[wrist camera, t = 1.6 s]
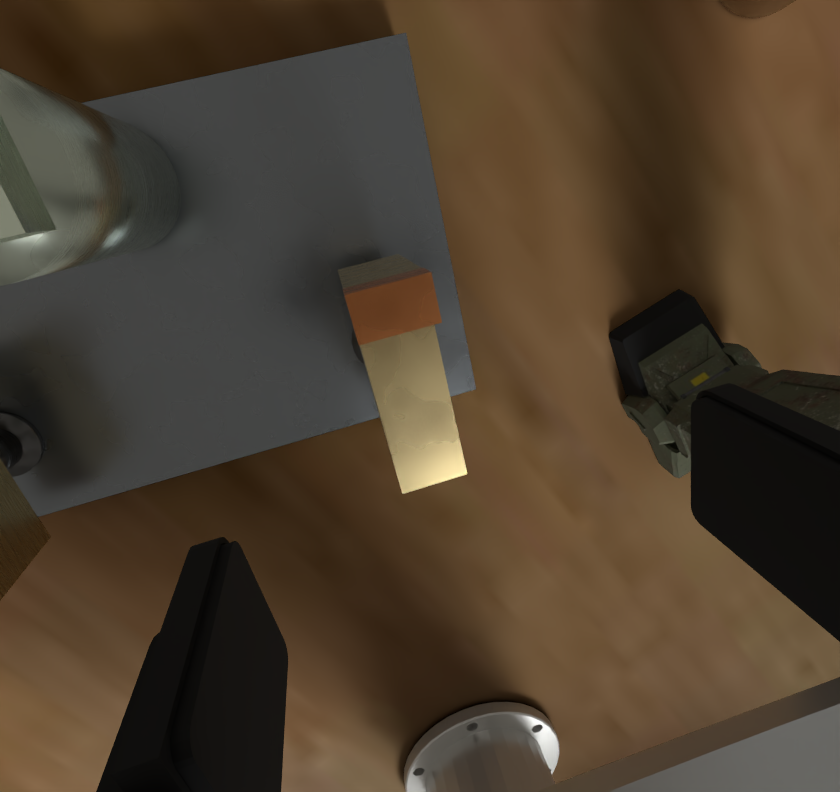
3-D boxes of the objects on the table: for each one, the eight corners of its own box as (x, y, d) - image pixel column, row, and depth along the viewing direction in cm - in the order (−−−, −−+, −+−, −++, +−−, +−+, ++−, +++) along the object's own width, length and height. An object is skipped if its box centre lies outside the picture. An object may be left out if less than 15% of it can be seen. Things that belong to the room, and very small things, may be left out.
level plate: (465, 377, 28) (581, 509, 16) (-13, 515, 26) (-311, 797, 14) (398, 47, 22) (503, -151, 10) (-241, 186, 20) (-1175, 156, 7)
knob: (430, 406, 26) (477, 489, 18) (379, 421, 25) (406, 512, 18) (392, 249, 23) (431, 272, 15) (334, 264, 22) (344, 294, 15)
